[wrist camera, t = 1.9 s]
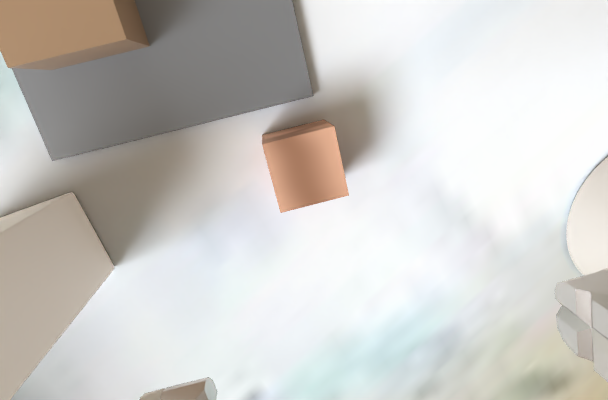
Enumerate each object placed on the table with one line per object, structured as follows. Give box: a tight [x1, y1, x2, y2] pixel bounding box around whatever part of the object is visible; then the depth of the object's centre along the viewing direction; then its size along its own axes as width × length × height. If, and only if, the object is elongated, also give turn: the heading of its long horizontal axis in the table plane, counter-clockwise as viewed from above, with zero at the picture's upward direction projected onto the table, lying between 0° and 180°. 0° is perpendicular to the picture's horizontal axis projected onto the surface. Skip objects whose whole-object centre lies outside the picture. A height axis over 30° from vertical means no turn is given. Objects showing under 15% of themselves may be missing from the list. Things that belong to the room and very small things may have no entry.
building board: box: [0, 0, 313, 161], centre depth 26 cm, size 20×15×6 cm
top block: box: [262, 120, 349, 213], centre depth 30 cm, size 5×5×5 cm
